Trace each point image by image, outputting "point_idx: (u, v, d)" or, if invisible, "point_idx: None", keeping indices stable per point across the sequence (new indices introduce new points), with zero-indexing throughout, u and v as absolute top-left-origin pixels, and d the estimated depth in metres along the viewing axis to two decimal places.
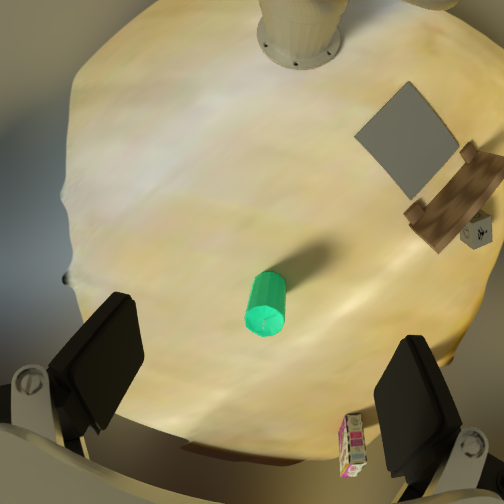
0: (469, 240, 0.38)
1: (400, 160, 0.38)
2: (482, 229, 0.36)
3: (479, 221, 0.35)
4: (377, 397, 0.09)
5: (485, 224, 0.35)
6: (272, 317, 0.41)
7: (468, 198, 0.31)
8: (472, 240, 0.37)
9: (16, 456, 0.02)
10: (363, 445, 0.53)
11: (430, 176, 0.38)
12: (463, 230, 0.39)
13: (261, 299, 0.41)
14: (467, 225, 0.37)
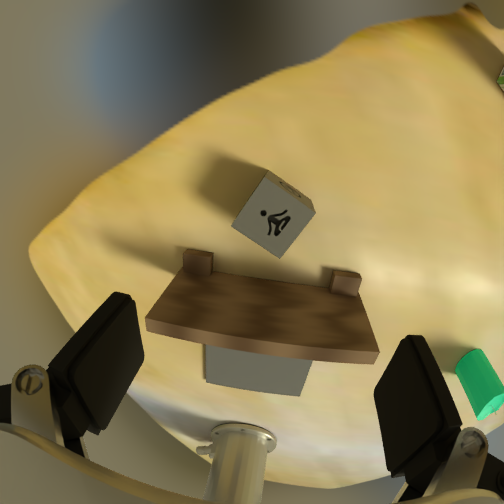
0: None
1: (289, 358, 0.34)
2: (268, 225, 0.23)
3: (262, 245, 0.24)
4: (377, 397, 0.09)
5: (255, 227, 0.23)
6: (489, 404, 0.23)
7: None
8: (302, 228, 0.23)
9: (16, 456, 0.02)
10: None
11: None
12: None
13: None
14: None
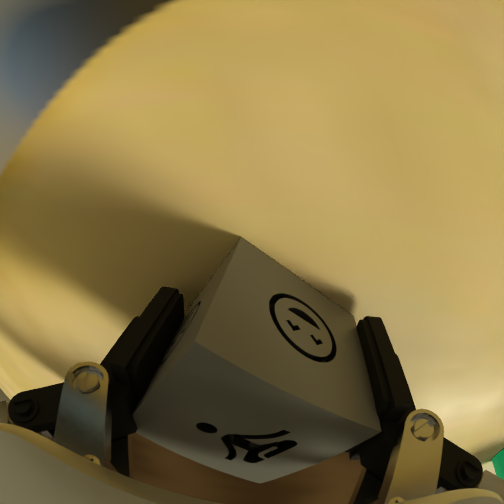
0: None
1: None
2: (225, 448, 0.06)
3: (213, 467, 0.07)
4: None
5: (187, 443, 0.06)
6: None
7: None
8: None
9: (15, 455, 0.02)
10: None
11: None
12: None
13: None
14: None
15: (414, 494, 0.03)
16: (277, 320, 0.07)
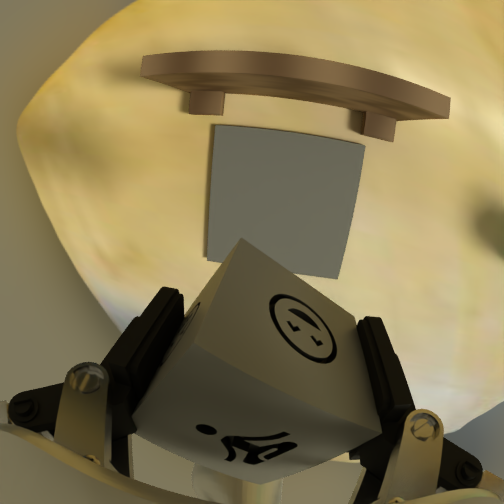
0: None
1: (324, 203, 0.26)
2: (225, 449, 0.06)
3: (212, 468, 0.07)
4: None
5: (187, 445, 0.06)
6: None
7: (302, 85, 0.15)
8: (330, 451, 0.06)
9: (16, 456, 0.02)
10: None
11: (306, 138, 0.24)
12: None
13: None
14: None
15: (413, 494, 0.03)
16: (277, 321, 0.07)
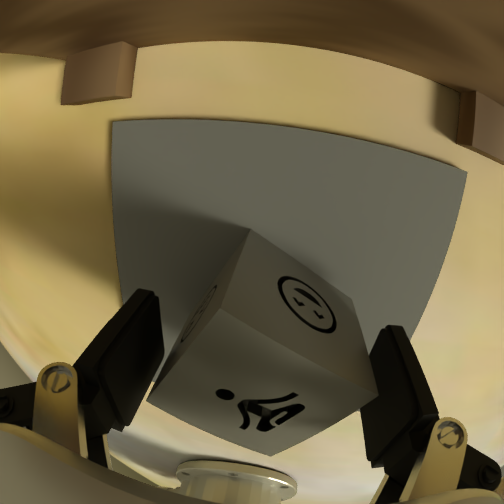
0: None
1: (367, 301, 0.11)
2: (241, 415, 0.07)
3: (227, 439, 0.08)
4: None
5: (206, 414, 0.07)
6: None
7: None
8: (334, 417, 0.07)
9: (16, 456, 0.02)
10: None
11: (337, 146, 0.09)
12: None
13: None
14: None
15: None
16: (285, 297, 0.08)
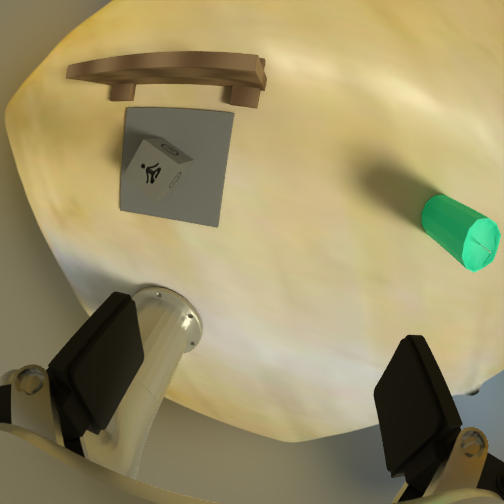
0: (177, 172, 0.29)
1: (200, 161, 0.32)
2: (146, 175, 0.28)
3: (142, 191, 0.29)
4: (377, 397, 0.09)
5: (138, 177, 0.28)
6: (474, 237, 0.21)
7: (155, 71, 0.21)
8: (171, 177, 0.28)
9: (15, 456, 0.02)
10: None
11: (187, 112, 0.29)
12: (178, 178, 0.31)
13: (456, 256, 0.24)
14: (165, 192, 0.30)
15: None
16: (162, 146, 0.28)
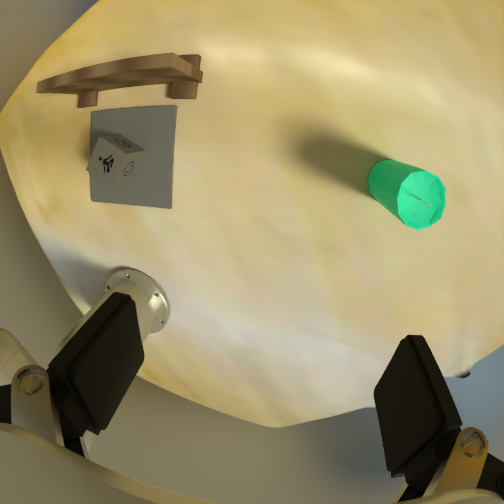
0: (128, 161, 0.31)
1: (152, 151, 0.34)
2: (103, 166, 0.30)
3: (101, 180, 0.31)
4: (377, 397, 0.09)
5: (97, 168, 0.31)
6: (412, 192, 0.23)
7: (102, 79, 0.24)
8: (122, 165, 0.30)
9: (16, 456, 0.02)
10: None
11: (138, 110, 0.32)
12: (132, 167, 0.34)
13: (397, 215, 0.25)
14: (121, 179, 0.33)
15: None
16: (116, 140, 0.31)
